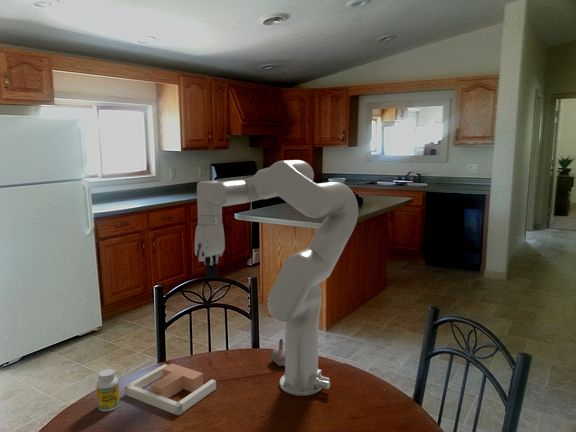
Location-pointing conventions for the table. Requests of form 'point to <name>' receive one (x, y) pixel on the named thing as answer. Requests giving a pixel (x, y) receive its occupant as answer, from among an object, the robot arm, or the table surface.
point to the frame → (161, 402)
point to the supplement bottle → (108, 390)
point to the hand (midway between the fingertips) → (211, 276)
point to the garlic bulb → (278, 354)
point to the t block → (177, 381)
